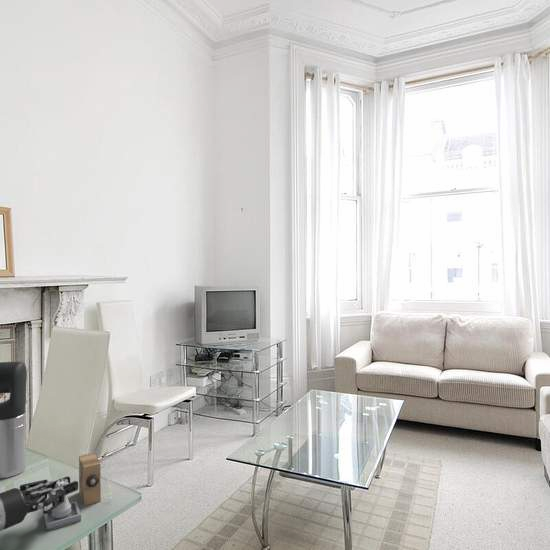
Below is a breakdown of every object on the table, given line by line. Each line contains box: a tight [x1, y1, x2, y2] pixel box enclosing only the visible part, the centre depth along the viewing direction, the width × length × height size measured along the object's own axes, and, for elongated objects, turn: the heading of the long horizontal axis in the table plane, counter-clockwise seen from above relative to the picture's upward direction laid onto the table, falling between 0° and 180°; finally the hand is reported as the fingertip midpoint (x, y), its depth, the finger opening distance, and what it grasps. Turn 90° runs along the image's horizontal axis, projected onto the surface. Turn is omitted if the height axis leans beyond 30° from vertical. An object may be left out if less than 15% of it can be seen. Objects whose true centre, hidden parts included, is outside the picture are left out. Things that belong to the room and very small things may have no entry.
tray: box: [43, 500, 82, 532], centre depth 105 cm, size 7×7×2 cm
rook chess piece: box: [51, 478, 72, 518], centre depth 104 cm, size 4×4×8 cm
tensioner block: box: [78, 452, 102, 507], centre depth 114 cm, size 9×4×10 cm, turn 33°
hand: (73, 482), depth 107 cm, fingers closed on rook chess piece, 3 cm apart
